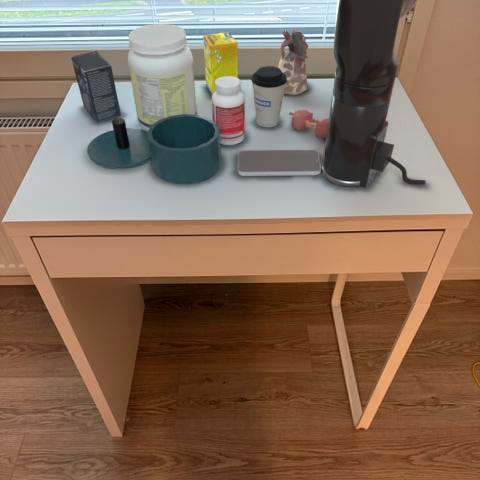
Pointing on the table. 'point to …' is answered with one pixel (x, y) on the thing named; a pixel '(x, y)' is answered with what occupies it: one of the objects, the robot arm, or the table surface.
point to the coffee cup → (268, 95)
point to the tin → (185, 148)
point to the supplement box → (220, 58)
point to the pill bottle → (229, 110)
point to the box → (96, 86)
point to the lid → (120, 146)
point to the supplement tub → (161, 73)
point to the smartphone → (278, 162)
